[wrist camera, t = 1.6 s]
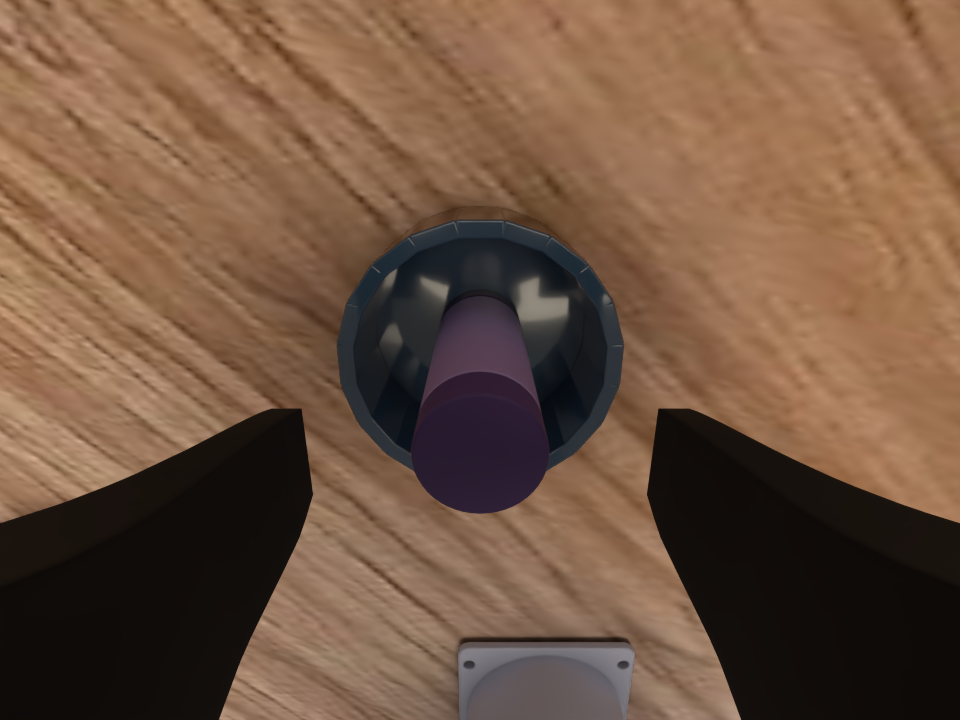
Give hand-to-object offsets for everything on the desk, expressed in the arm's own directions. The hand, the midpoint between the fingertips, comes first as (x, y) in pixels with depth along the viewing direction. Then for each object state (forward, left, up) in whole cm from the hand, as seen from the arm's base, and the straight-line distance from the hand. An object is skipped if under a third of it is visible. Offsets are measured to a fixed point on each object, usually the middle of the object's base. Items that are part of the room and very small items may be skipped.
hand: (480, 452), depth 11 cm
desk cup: (0, 0, -9) cm, 9 cm away
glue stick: (0, 0, -8) cm, 8 cm away
